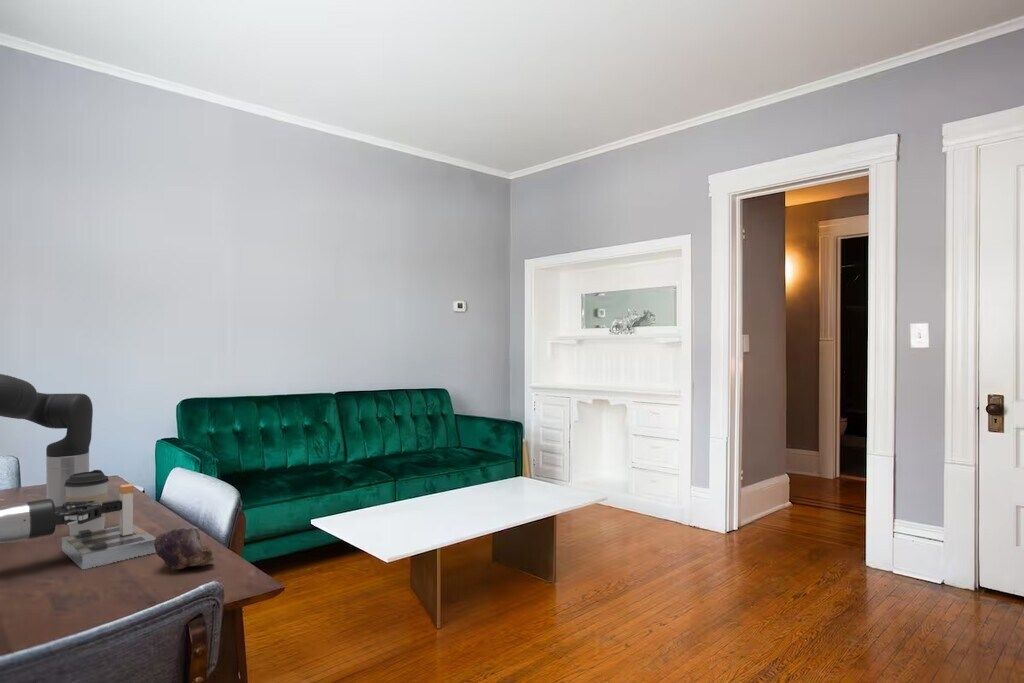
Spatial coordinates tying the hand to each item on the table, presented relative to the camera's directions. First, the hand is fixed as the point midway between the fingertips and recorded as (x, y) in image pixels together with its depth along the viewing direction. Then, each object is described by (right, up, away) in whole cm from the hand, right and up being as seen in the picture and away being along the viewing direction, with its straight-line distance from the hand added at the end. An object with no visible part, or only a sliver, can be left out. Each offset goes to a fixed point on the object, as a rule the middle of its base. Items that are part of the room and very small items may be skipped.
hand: (121, 504), depth 139 cm
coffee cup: (-15, -10, +11) cm, 22 cm away
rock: (+20, -10, -11) cm, 25 cm away
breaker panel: (-1, -10, -2) cm, 10 cm away
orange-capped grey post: (+1, -7, +1) cm, 7 cm away
